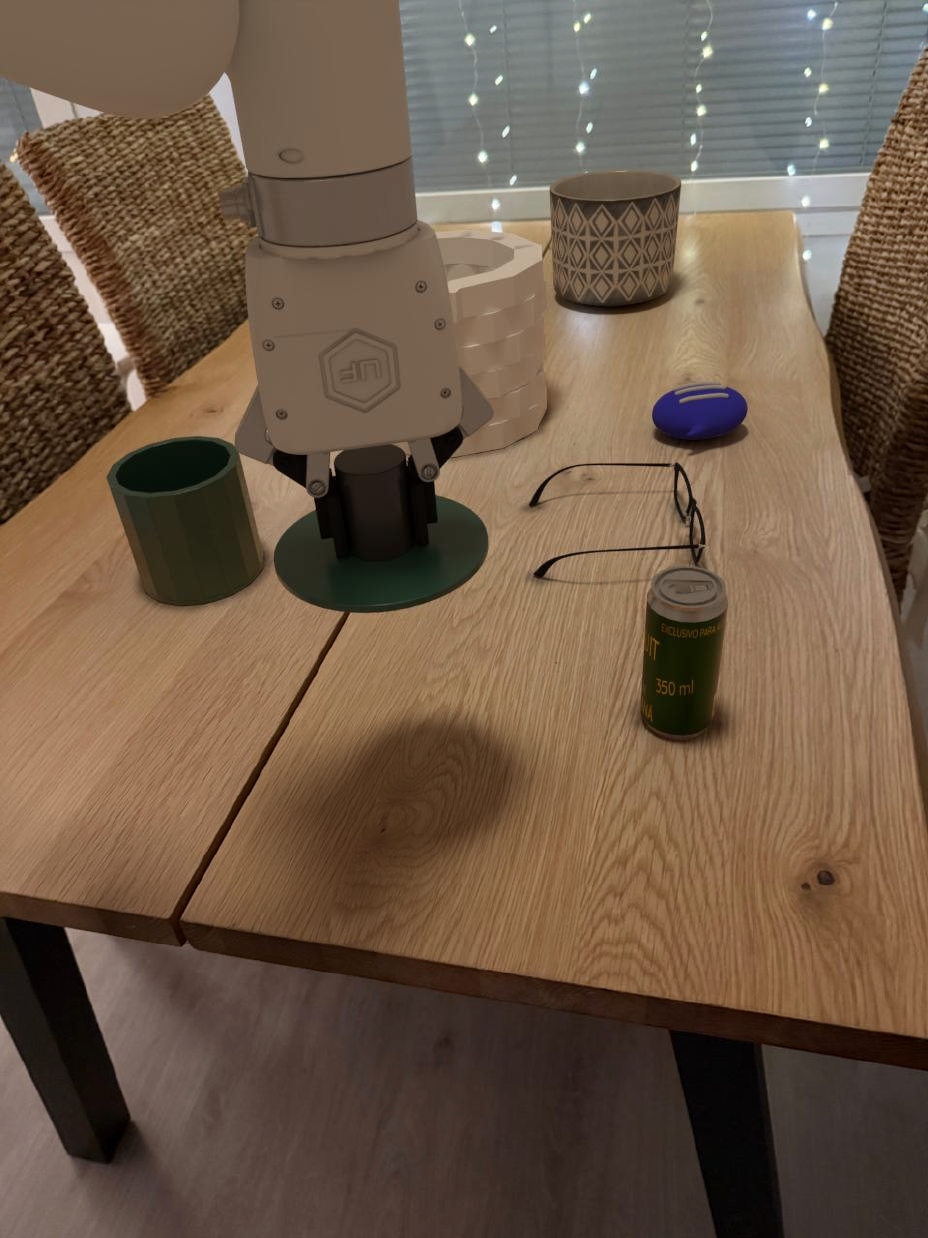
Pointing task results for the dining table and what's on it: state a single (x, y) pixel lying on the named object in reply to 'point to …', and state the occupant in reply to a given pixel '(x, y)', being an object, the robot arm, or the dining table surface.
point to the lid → (380, 542)
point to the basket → (498, 329)
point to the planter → (614, 235)
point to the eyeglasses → (692, 503)
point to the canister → (188, 519)
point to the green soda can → (682, 651)
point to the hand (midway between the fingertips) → (380, 536)
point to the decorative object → (699, 411)
